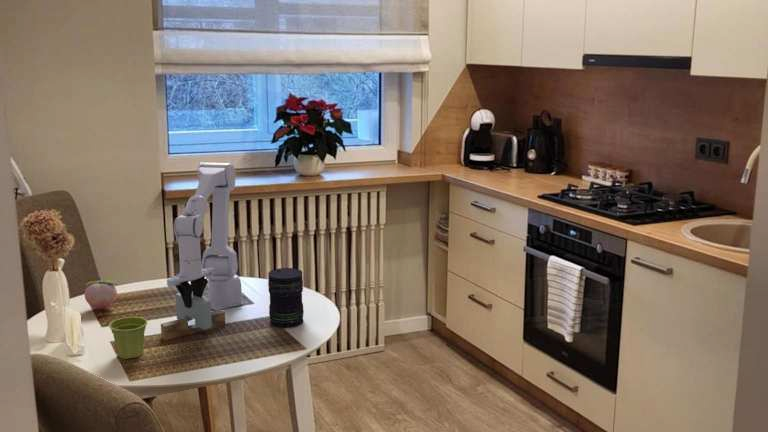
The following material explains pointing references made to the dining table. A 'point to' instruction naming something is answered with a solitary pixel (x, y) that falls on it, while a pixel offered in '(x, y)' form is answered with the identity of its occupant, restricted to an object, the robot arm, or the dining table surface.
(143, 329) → the plant pot
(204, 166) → the robot arm
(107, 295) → the decorative fruit
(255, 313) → the dining table surface
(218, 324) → the base rail
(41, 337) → the dining table surface
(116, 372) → the dining table surface
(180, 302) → the crosspiece
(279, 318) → the camera lens
